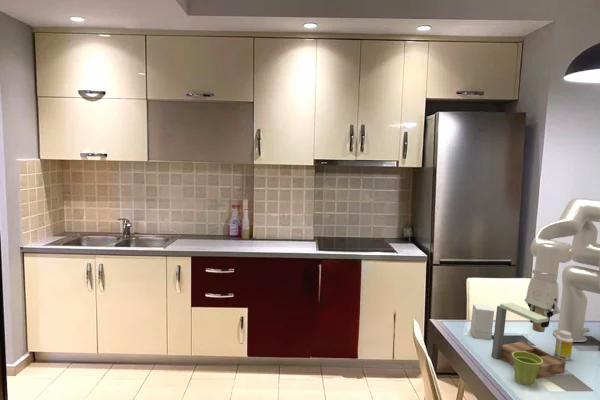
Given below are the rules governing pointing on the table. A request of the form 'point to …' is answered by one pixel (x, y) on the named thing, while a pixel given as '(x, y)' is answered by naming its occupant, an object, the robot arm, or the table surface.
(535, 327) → the peg
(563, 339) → the supplement bottle
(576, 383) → the table surface
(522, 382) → the plant pot
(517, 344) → the socket block
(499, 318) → the awning
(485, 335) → the supplement box
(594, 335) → the table surface
